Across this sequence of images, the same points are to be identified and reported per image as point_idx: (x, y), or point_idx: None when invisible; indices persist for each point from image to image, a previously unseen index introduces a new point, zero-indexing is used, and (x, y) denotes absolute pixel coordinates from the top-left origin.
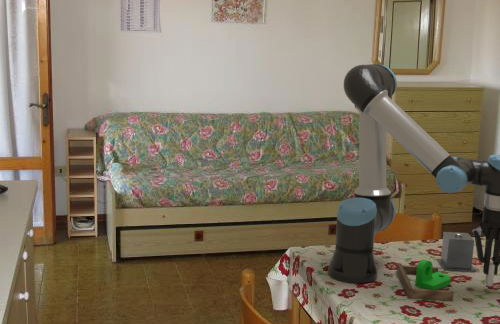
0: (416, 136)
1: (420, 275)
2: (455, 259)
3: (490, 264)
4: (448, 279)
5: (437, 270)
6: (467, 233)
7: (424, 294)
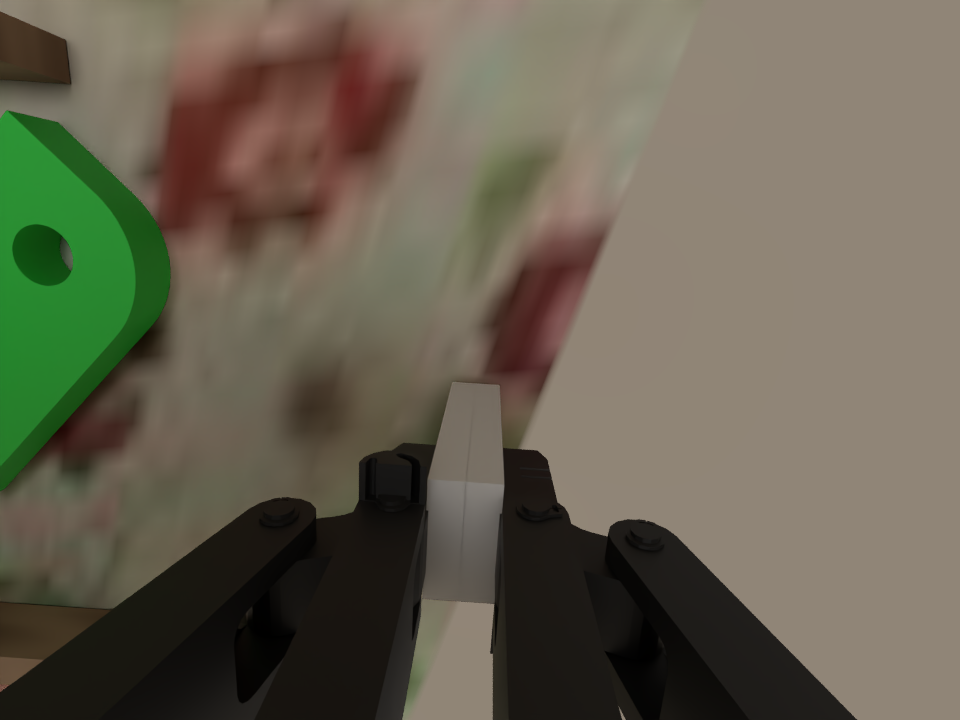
0: None
1: None
2: None
3: (440, 578)
4: (106, 342)
5: (10, 67)
6: None
7: None
